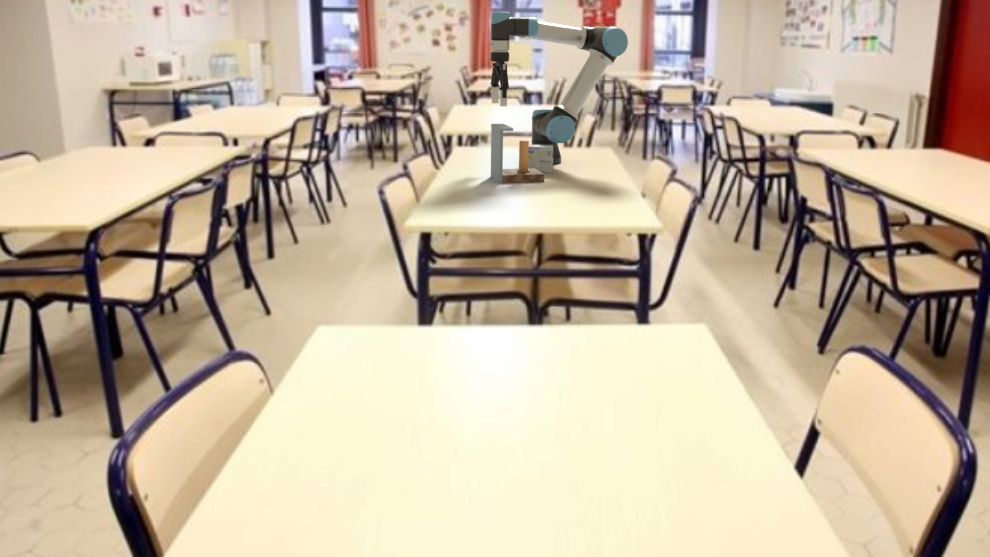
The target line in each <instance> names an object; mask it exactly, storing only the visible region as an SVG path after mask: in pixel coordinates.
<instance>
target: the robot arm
mask: <svg viewBox="0 0 990 557" xmlns="http://www.w3.org/2000/svg"><path fill="white" fill-rule="evenodd" d="M510 37H519V38H525V39H532V40H538V41H543V42H550V43H555V44H562V45H568V46H573V47H576V48H577V49H578V50H584V51H587V52H589V56H588V58H587V59H586V61H585V63H584V64H583V65H582V67H581V70H580V71H579V73H578V74H577V75H576V77H575V79H574V81H573V82H572V84H571V86H570V87H569V89H568V91H567V92H566V94H565V95H564V96H563V99H562V100H561V102H560V104H556V105H554V106H553V108H549V109H548V108H547V109H546V108H545V109H534V110H533V112H532V117H531V144H530V145H553V165H555V164H560V163H562V155H561V152H560V151H561V150H560V147H559V144H564V143H567V142H569V141H570V140H571V139H572V138H573V137H574V135H575V133H576V125H577V123H578V122H579V116H578V114H579V113H580V111H581V110H582V108H583V106H584V104H585V103H586V101H587V99H588V97H589V96H590V95H591V93H592V91H593V89H594V88H595V87H596V85H597V83H598V82H599V81H600V78H601V77H602V75H603V74H604V72H605V70H606V68H607V67H608V66H612V65H613V64H614V63H615V60H616V59H617V57H620V56H622V55H623V54H624V53H625V52H626V50H627V49H628V45H629V40H628V36H627V33H626V32H625V31H624V30H623V29H622V28H620V27H617V26H614V25H612V26H585V25H584V26H580V27H574V26H570V25H564V24H558V23H550V22H546V21H539V20H538V19H537V18H536V17H532V16H511V13H510V12H509V11H493V12H492V13H491V17H490V43H489V46H490V51H491V52H490V61H491V62H492V71H491V78H490V85H491V104H499V107H508V90H509V88H510V85H509V75H508V64H507V63H508V62H509V61H510V52H509V51H510V43H511V42H510ZM506 62H507V63H506ZM505 63H506V64H505ZM499 92H500V93H499ZM499 98H500V99H499Z"/></svg>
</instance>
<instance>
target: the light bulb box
mask: <svg viewBox="0 0 990 557" xmlns="http://www.w3.org/2000/svg"><path fill="white" fill-rule="evenodd" d="M528 168H535V169H536V170H538V171H540V172H542V173H549V174H550V173H553V171H554V170H553V168H554V164H553V145H531V144H529V150H528Z"/></svg>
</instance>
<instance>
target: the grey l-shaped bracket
mask: <svg viewBox="0 0 990 557" xmlns="http://www.w3.org/2000/svg"><path fill="white" fill-rule="evenodd" d="M490 130H491V131H490V132H491V133H490V136H491V137H490V178H492V180H494V181H496V182H497V183H498V184H503V183H502V172H503V169H504V167H503V162H504V161H503V160H504V158H503V156H504V153H503V152H504V132H512V131H514V127H512V126H509V125H507V124H505V123H491V124H490Z"/></svg>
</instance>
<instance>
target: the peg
mask: <svg viewBox="0 0 990 557" xmlns="http://www.w3.org/2000/svg"><path fill="white" fill-rule="evenodd" d="M529 145H530V144H529V140H519V148H518V149H519V150H518V152H519V153H518V154H519V155H518V169H519V173H528V150H529Z"/></svg>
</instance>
